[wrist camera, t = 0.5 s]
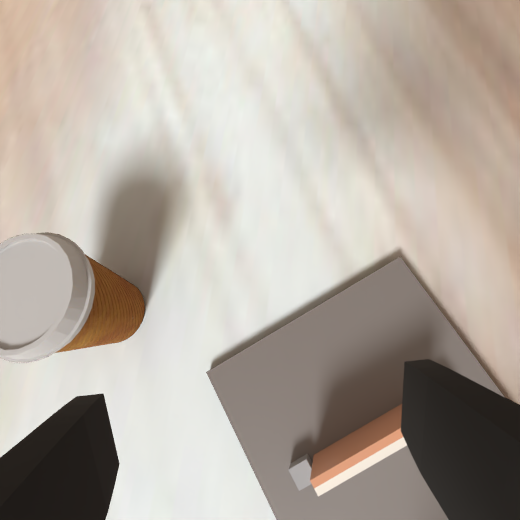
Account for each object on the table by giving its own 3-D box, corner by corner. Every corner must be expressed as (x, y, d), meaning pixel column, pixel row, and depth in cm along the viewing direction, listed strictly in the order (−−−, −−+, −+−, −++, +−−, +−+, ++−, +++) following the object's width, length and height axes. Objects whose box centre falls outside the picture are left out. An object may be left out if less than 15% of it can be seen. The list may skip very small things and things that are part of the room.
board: (584, 512, 25) (612, 529, 23) (342, 648, 26) (344, 679, 23) (398, 259, 32) (403, 251, 30) (209, 371, 33) (200, 373, 30)
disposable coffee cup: (160, 260, 36) (83, 218, 25) (159, 356, 34) (74, 358, 22) (77, 271, 38) (-31, 235, 26) (71, 363, 35) (-52, 368, 24)
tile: (430, 403, 28) (456, 416, 22) (320, 467, 28) (318, 496, 22) (422, 391, 28) (446, 401, 22) (313, 454, 28) (309, 480, 23)
